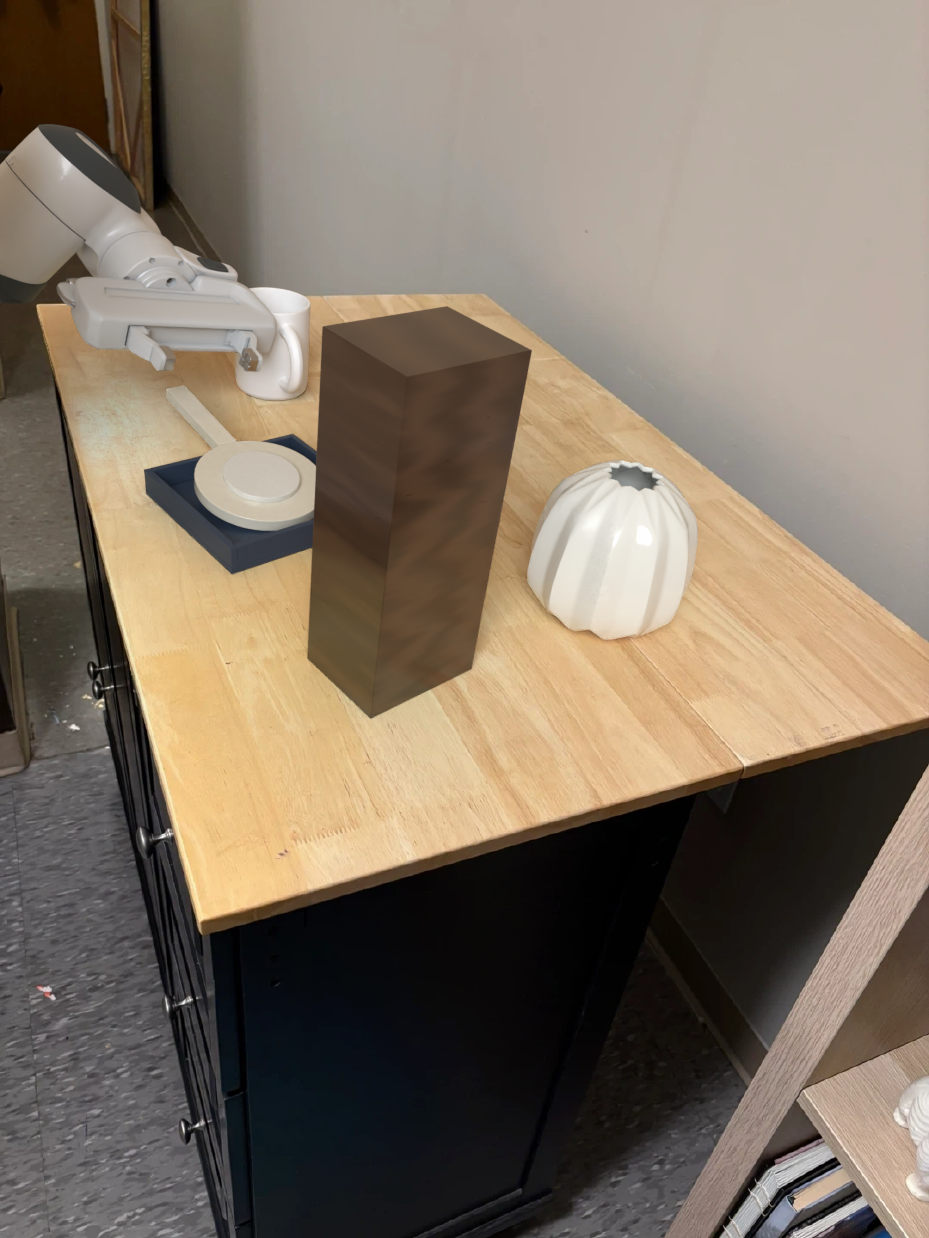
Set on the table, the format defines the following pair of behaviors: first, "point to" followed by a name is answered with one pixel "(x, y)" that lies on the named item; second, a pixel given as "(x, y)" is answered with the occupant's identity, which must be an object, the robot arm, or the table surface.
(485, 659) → the table surface
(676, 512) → the vase
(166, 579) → the table surface
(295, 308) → the mug
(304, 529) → the tray
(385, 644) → the stand
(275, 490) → the beige frying pan
